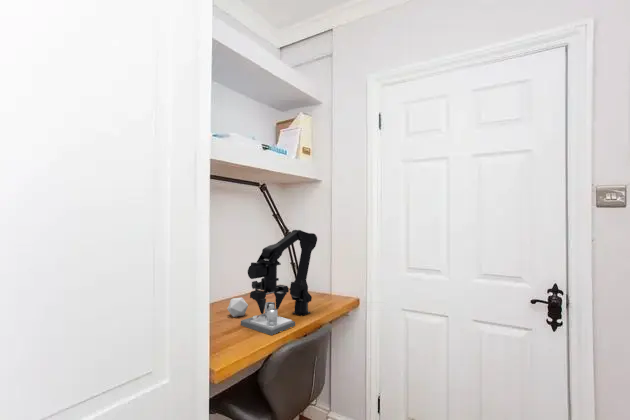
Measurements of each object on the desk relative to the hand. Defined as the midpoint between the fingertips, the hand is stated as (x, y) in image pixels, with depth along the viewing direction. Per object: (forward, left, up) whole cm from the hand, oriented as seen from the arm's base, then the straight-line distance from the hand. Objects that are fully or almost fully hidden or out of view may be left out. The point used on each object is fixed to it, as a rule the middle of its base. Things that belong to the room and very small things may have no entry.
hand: (269, 311), depth 146 cm
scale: (+3, +2, -5) cm, 6 cm away
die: (+2, -19, -5) cm, 20 cm away
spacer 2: (+7, +8, -2) cm, 11 cm away
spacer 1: (0, 0, -2) cm, 2 cm away
